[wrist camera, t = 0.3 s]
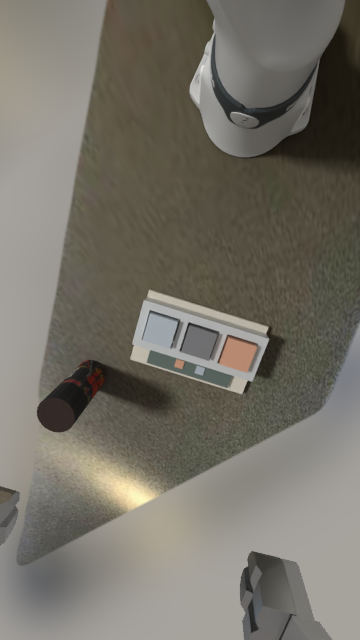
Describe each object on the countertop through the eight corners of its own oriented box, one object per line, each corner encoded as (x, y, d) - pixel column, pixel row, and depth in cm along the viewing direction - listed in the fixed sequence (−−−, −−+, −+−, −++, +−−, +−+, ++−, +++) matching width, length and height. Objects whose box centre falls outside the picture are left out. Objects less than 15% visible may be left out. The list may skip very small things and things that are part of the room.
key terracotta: (228, 333, 53) (229, 338, 51) (255, 342, 53) (257, 346, 51) (218, 359, 55) (219, 364, 52) (245, 367, 54) (247, 372, 52)
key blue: (152, 310, 53) (149, 313, 51) (179, 318, 53) (178, 322, 51) (145, 336, 55) (142, 340, 52) (171, 344, 55) (169, 348, 52)
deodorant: (95, 392, 61) (61, 439, 47) (72, 375, 61) (30, 416, 46) (112, 372, 60) (82, 413, 45) (88, 354, 59) (49, 390, 45)
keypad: (150, 289, 55) (146, 292, 51) (267, 325, 55) (272, 332, 51) (131, 357, 59) (126, 365, 55) (241, 391, 59) (244, 402, 55)
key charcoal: (190, 322, 53) (189, 325, 51) (217, 330, 53) (217, 334, 51) (182, 347, 55) (180, 352, 52) (208, 355, 55) (208, 360, 52)
